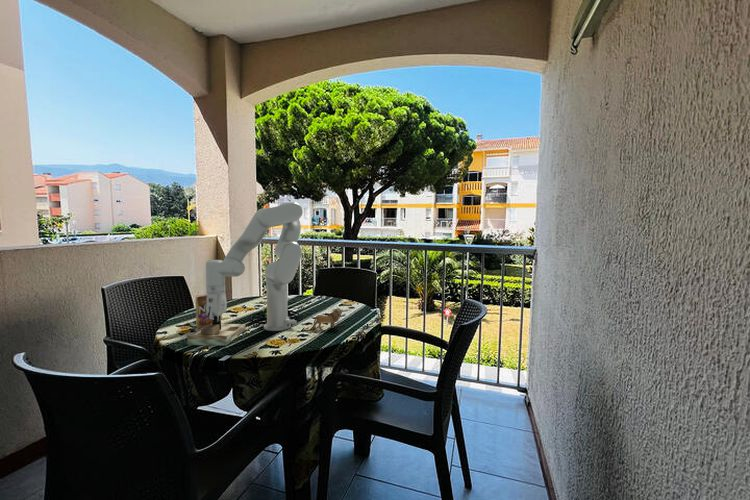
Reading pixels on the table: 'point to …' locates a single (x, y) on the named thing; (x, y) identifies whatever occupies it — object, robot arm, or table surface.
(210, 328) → the block
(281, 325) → the robot arm
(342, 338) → the table surface
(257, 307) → the table surface
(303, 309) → the table surface
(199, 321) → the candy box
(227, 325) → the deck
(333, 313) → the lion figurine
